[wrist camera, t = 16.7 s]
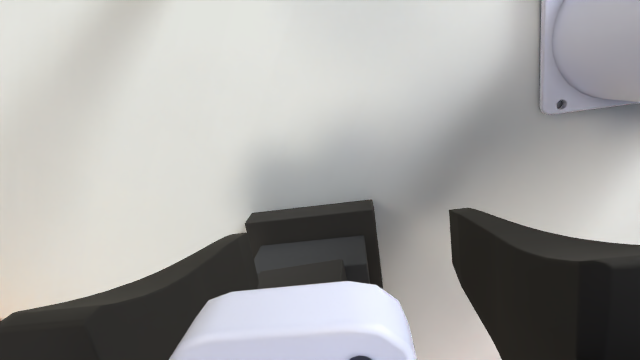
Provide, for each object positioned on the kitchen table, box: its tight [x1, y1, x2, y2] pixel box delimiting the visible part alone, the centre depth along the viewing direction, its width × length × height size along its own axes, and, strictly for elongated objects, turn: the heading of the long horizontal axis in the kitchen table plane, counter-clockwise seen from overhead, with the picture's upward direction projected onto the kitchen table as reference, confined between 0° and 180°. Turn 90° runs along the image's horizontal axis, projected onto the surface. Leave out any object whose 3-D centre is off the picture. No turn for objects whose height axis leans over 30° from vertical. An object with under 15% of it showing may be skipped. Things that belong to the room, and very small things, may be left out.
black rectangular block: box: [254, 235, 370, 284], centre depth 21 cm, size 6×5×4 cm
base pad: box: [245, 200, 383, 289], centre depth 23 cm, size 8×8×2 cm
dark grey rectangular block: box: [257, 259, 347, 289], centre depth 18 cm, size 4×6×3 cm
